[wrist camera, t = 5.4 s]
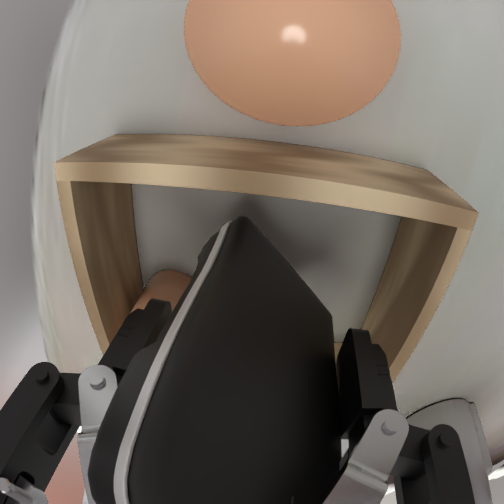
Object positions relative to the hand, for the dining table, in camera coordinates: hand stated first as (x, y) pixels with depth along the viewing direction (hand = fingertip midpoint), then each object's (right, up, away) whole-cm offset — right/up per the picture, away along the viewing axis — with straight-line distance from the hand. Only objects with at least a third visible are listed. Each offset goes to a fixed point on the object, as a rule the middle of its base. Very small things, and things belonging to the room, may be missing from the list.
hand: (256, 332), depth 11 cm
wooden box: (0, +3, +7) cm, 7 cm away
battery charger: (0, +2, +3) cm, 3 cm away
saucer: (+2, +13, 0) cm, 14 cm away
